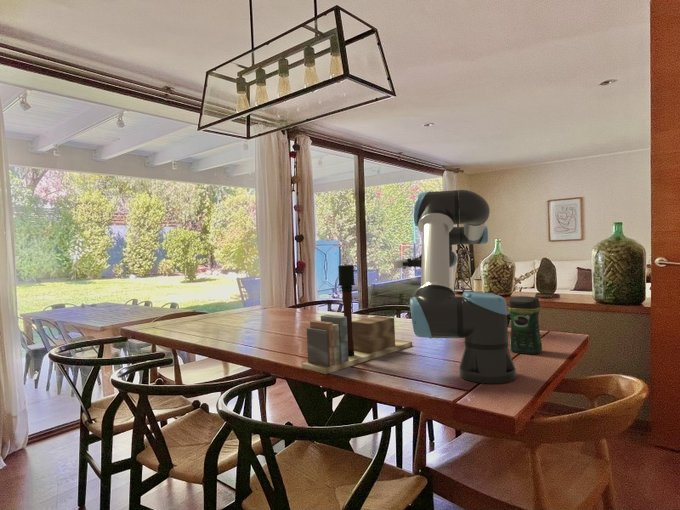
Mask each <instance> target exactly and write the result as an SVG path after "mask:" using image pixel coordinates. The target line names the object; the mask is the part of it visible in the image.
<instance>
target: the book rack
mask: <svg viewBox="0 0 680 510" xmlns="http://www.w3.org/2000/svg"><path fill="white" fill-rule="evenodd" d="M306 344H307V347H306V348H307V361H305V362H301V369H304V370H308V371H312V372H316V373H320V374H324V375H328V374H330V373H333V372H336V371H340V370H343V369H345V368H348V367H352V366H355V365H359V364H361V363H364V362H368V361H370V360H373V359H376V358H380V357H382V356H385V355H388V354H391V353H395V352H397V351H400V350H403V349H407V348H410V347H412V346H413V341H410V340H409V341H408V340H403V339H397V338H395V346H392V347H389V348H386V349H383V350H380V351H376V352H373V353H370V354H369V353H364V352H358V351H354V356H348V334H347V317H344V315H343V316H341V315H334V314H324V315H320V320H317V319H316V320H315V319H314V320H310V321H309V327H306Z"/></svg>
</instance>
